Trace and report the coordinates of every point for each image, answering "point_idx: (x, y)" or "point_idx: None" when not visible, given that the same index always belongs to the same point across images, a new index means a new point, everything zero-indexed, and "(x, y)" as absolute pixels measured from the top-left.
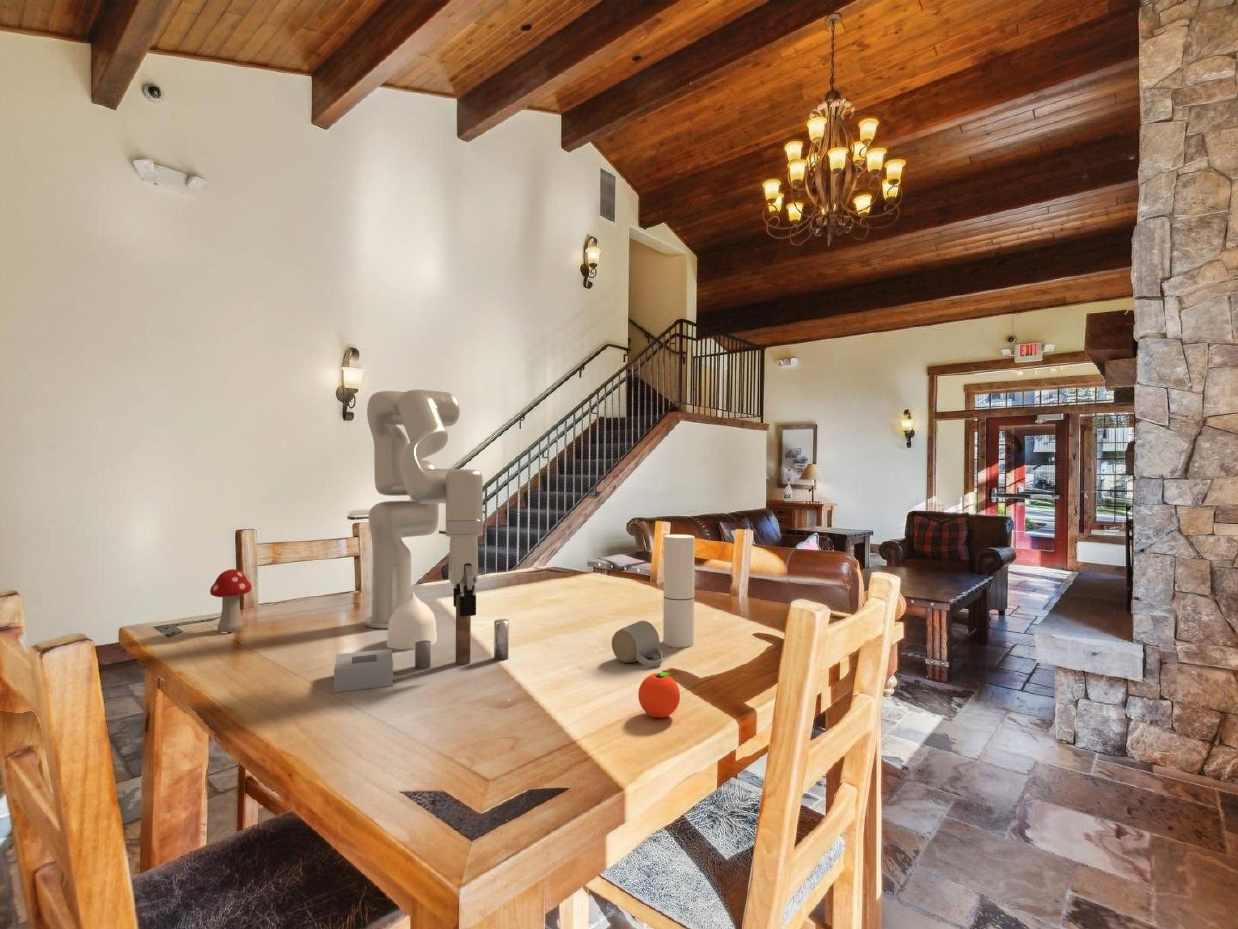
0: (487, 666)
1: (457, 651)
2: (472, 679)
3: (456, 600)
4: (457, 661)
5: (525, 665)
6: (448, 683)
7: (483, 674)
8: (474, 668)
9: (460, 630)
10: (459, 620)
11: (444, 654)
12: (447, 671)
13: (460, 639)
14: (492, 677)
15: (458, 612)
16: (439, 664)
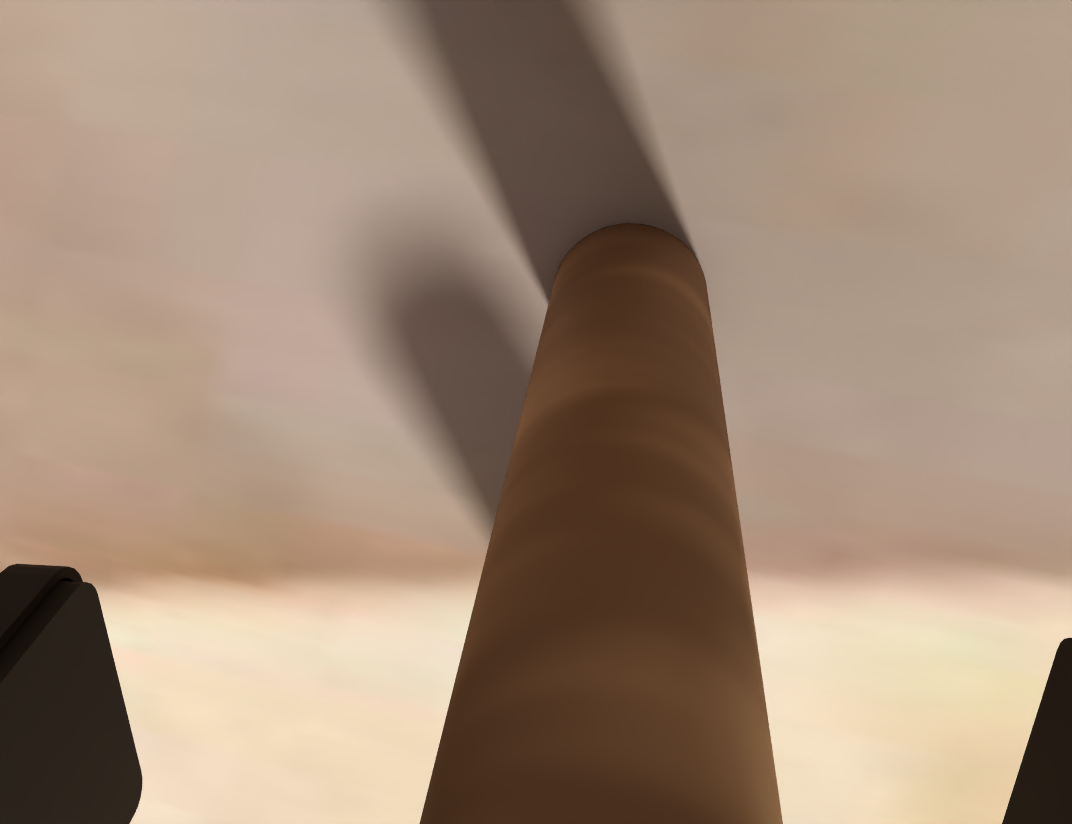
0: (429, 477)
1: (575, 285)
2: (103, 293)
3: (562, 770)
4: (582, 247)
5: (362, 721)
6: (24, 60)
7: (219, 403)
8: (408, 366)
9: (518, 440)
10: (512, 515)
11: (1044, 155)
12: (395, 102)
13: (533, 379)
14: (127, 451)
15: (510, 595)
16: (675, 46)
